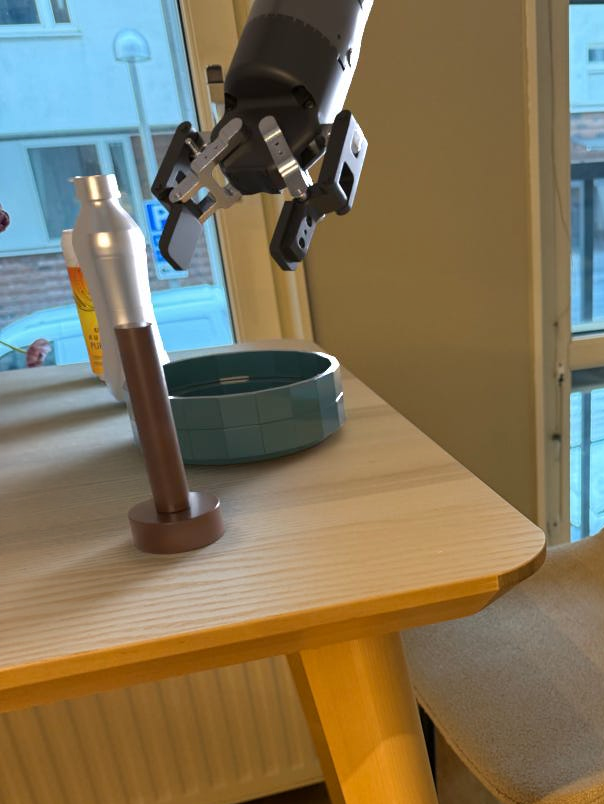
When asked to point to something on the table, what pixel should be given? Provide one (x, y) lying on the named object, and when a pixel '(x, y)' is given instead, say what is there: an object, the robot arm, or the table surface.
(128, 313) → the silver bottle
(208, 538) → the brown rod on disc
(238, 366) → the bowl
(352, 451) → the table surface
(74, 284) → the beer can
